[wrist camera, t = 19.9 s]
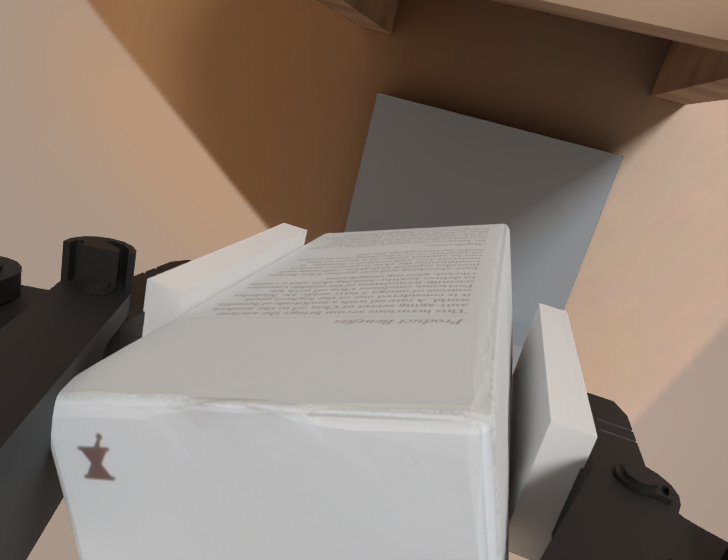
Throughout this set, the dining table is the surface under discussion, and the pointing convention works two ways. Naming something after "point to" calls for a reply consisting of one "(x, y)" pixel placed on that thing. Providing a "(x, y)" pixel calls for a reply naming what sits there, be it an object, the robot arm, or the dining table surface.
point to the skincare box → (308, 412)
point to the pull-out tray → (485, 192)
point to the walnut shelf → (628, 12)
